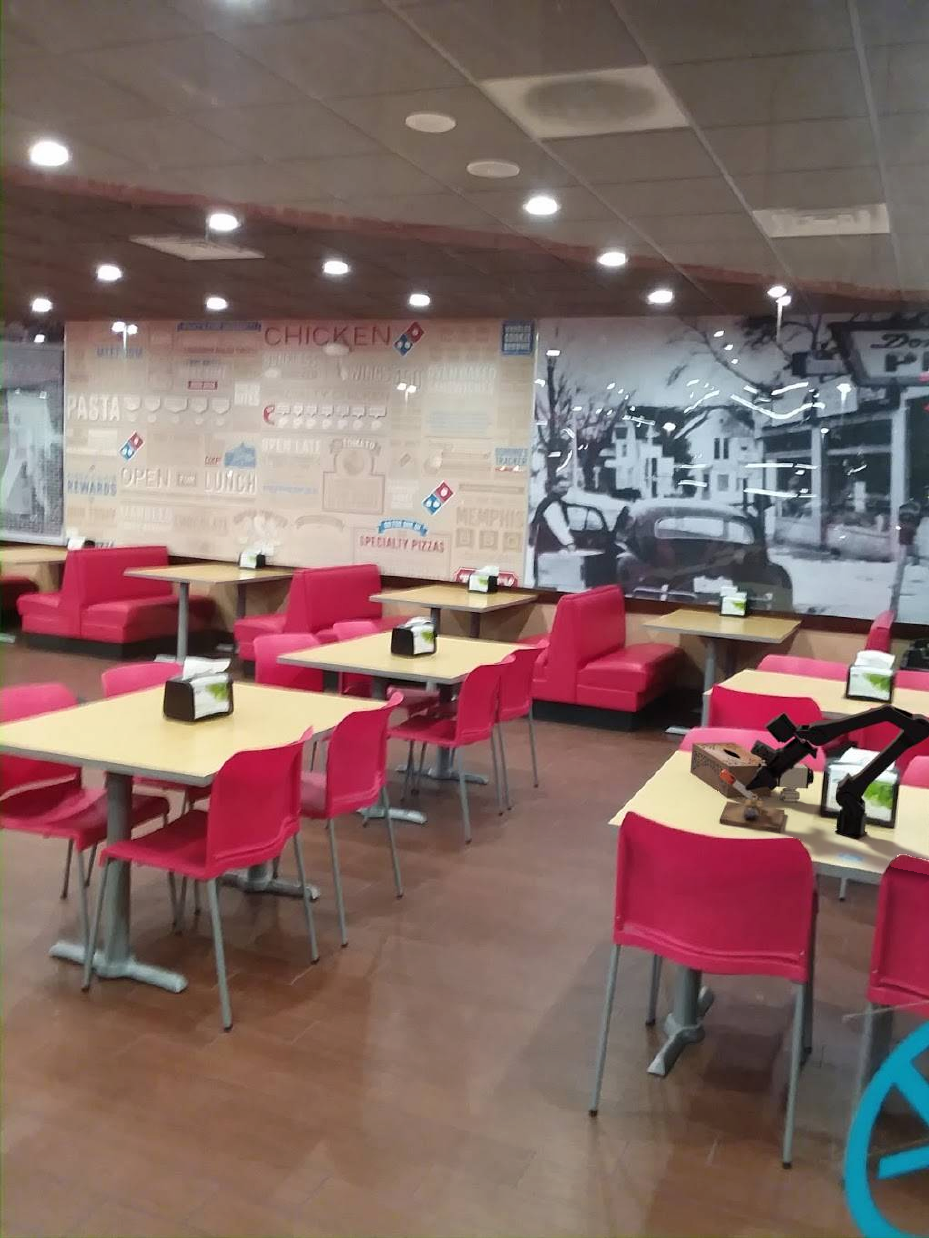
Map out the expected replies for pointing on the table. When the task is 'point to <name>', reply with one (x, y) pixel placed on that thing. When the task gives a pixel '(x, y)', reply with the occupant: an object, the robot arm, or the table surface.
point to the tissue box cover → (726, 767)
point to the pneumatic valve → (795, 782)
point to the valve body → (752, 809)
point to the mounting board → (767, 821)
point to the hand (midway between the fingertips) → (746, 788)
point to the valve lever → (736, 784)
